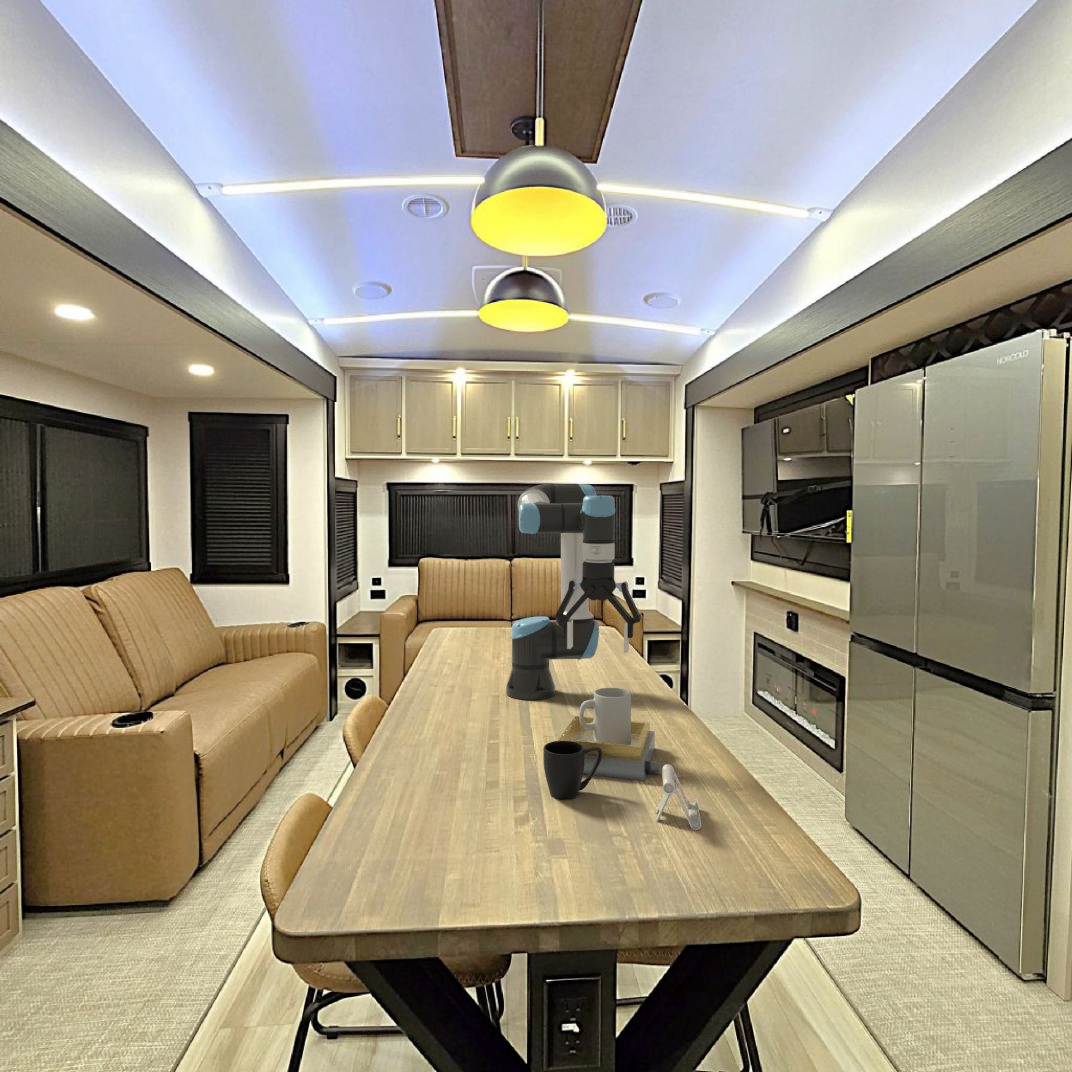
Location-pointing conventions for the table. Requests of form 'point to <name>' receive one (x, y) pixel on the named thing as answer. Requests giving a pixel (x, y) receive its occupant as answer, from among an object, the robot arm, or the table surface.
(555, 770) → the mug
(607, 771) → the yellow and grey tray
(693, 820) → the portable electronic device stand
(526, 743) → the table surface
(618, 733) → the mug
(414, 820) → the table surface
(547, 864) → the table surface
